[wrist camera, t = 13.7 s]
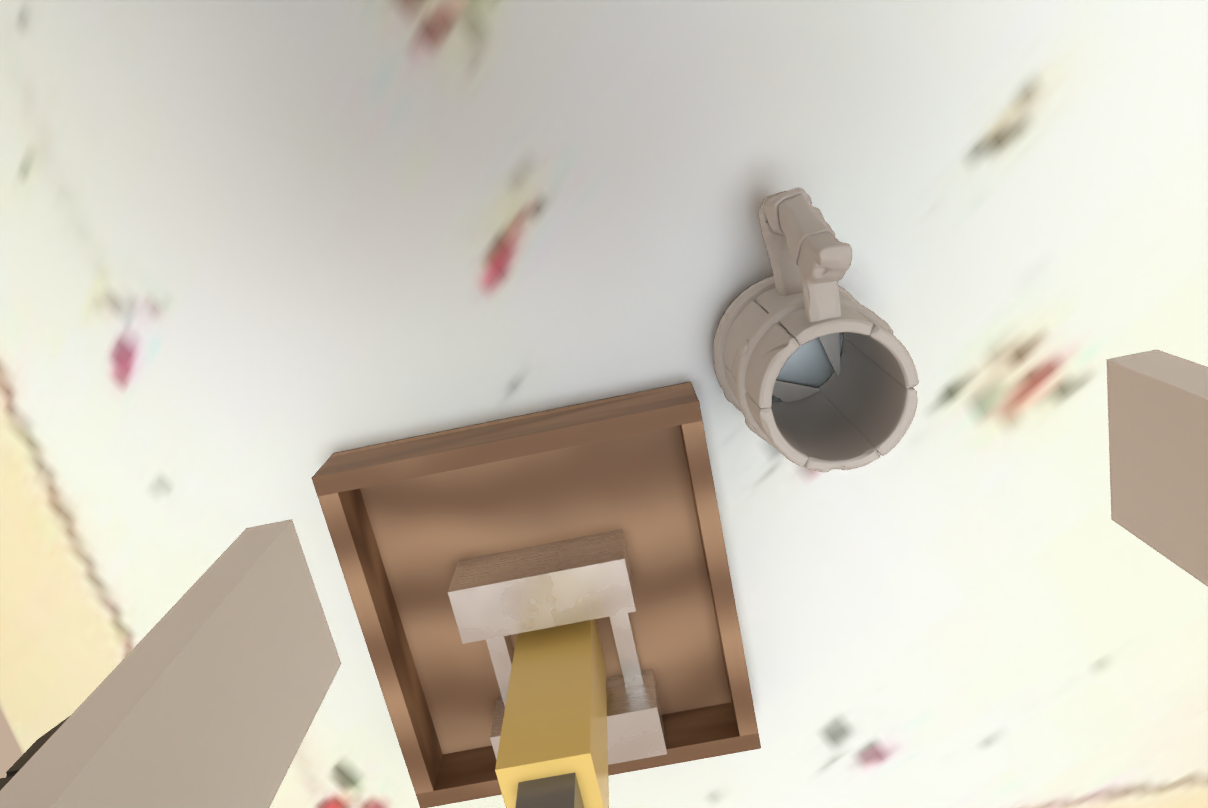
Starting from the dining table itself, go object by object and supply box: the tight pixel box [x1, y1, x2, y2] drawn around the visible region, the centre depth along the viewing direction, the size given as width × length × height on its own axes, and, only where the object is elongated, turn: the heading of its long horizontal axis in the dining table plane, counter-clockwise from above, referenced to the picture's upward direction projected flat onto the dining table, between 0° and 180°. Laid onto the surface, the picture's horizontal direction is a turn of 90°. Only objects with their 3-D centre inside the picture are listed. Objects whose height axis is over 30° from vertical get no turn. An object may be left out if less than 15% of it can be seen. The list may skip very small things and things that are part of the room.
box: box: [312, 382, 761, 808], centre depth 44 cm, size 20×19×4 cm
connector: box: [495, 619, 609, 808], centre depth 39 cm, size 4×4×14 cm
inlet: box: [448, 529, 667, 765], centre depth 44 cm, size 12×9×3 cm
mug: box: [713, 188, 919, 472], centre depth 36 cm, size 8×12×12 cm, turn 12°
